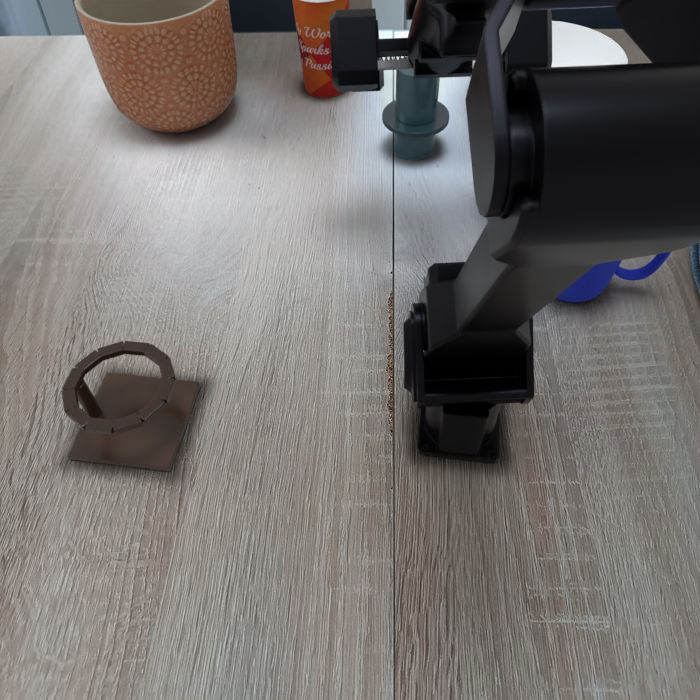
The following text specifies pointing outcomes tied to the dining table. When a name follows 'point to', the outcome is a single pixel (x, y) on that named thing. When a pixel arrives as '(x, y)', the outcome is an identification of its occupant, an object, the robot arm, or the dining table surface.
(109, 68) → the planter
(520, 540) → the dining table surface
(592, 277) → the mug
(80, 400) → the cup holder
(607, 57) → the bowl
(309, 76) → the paper cup
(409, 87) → the blue-grey flanged cylinder
